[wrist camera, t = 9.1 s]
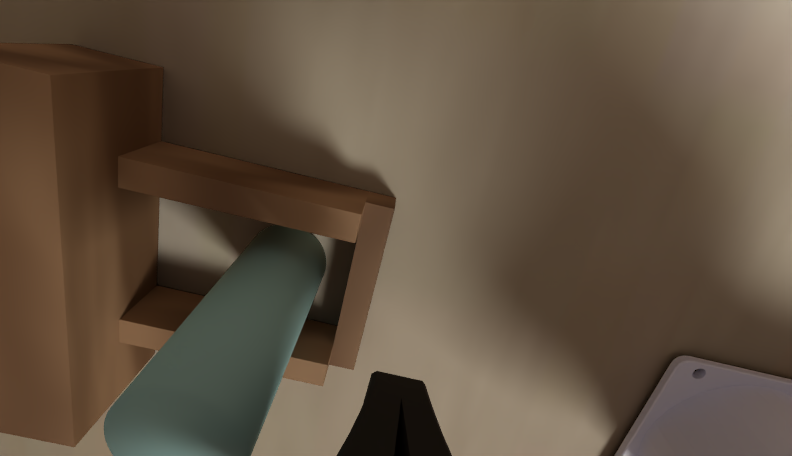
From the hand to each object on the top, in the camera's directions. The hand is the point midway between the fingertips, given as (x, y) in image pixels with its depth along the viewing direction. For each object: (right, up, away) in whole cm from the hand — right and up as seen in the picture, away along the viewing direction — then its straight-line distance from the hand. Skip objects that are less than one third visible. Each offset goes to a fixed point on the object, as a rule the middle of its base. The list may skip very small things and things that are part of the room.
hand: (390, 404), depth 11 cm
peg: (-4, +3, +6) cm, 8 cm away
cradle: (-6, +4, +5) cm, 9 cm away
